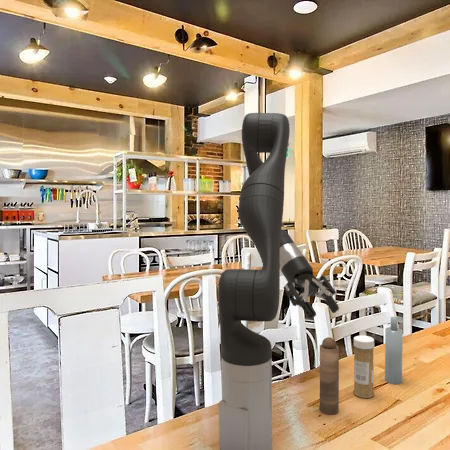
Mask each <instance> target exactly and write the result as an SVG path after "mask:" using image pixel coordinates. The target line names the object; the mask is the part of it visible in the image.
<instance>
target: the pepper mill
mask: <svg viewBox="0 0 450 450" xmlns="http://www.w3.org/2000/svg"><path fill="white" fill-rule="evenodd" d="M339 355H340V347H339V345H337V342H336V340H335V339H334V338H333V337H326V338H324V339H323V340H322V342H321V344H320V345H319V411H320V412H321V413H323V414H325V415H328V416H332V415H333V416H334V415H336V414H338V413H339V411H340V410H339V409H340V408H339V407H340V405H339V404H340V403H339V402H340V399H339V398H340V397H339V395H340V392H339V390H340V386H339V385H340V382H339V381H340V380H339V378H340V376H339V375H340V360H339V359H340V356H339Z"/></svg>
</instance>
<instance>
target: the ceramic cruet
mask: <svg viewBox="0 0 450 450" xmlns="http://www.w3.org/2000/svg"><path fill="white" fill-rule="evenodd" d="M398 322H399V321H398V317H396V316H391V317H390V326H388V327H385V329H384V330H385V331H384V332H385V334H384V339H385V340H384V342H385V344H384V381H385V382H386V383H388V384H390V385H401V384H402V383H403V344H404V343H403V342H404V340H403V338H404V337H403V336H404V335H403V334H404V333H403V332H404V330H403V329H402V328H399V327H398Z"/></svg>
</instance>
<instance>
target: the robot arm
mask: <svg viewBox="0 0 450 450" xmlns="http://www.w3.org/2000/svg"><path fill="white" fill-rule="evenodd" d="M290 134H291V133H290V121H289V119H288V116H287V115H285V114H283V113H280V112H249V113H247V114H246V115H245V116H244V117H243V120H242V125H241V142H242V149H243V154H244V159H245V165H246V167H247V172H248V177H247V178H246V180H245V181H244V183H243V184H242V186H241V188H240V194H239V201H238V202H239V203H238V210H237V215H238V219H239V223H240V224H241V226H242V227H243V229H244V231H245V233H246V234H247V235H248V237H249V239H250V240H251V241H252V243H253V245H254V246H255V248H256V250H257V253H258V254H259V257H260V260H261V263H262V268H261V269H247V268H245V269H243V268H242V269H241V268H232V269H231V268H230V269H225V270H223V272H222V273H221V275H220V277H219V278H218V279H219V281H218V284H217V285H218V287H217V302H218V304H217V305H218V315H219V329H220V332H219V334H220V337H219V338H220V351H221V352H220V353H221V354H220V355H221V358H220V359H221V400H220V401H219V402H218V434H219V435H218V436H219V437H218V438H219V439H218V440H219V441H218V443H219V444H218V445H219V450H273V385H272V383H273V381H272V380H273V375H272V373H273V368H272V366H273V365H272V363H273V361H272V358H273V357H272V353H273V352H272V348H273V347H272V343H271V341H270V340H269V339H268V338H267V337H266V336H264V335H262V334H259V333H258V332H256V331H253V330H251V329H249V328H248V327H247V326H245V324H243V322H245V321H246V322H264V323H265V322H267V323H268V322H272V321H274V320H275V319H276V317H277V314H278V312H279V305H280V290H281V289H280V287H281V283H280V281H281V279H280V277H281V275H280V273H282V275H283V277H284V278H285V279H286V281H287V283H286V284H284V286H283V289H284V291H285V293H286V295H287V297H288V299H289V301H290V303H291V305H292V306H294V307H296V306H299V307H300V308H302V310H303V312H304V314H305V315H306V316H307V317H308V318H309V320H312V319H314V318H315V317H317V312H316V311H315V309H314V308H313V306H312V305H311V303H310V301H308V299H309V297H311V296H312V297H313V296H315V297H317V298H320V299H322V300H323V301H324V302H325V304H326V305H327V307H328V308H329V310H330V311H331V313H333V314H335V313H337V312H338V311H339V310H340V307H339V305H338V303H337V302H336V300H335V299H334V297H333V296H334V295H335V294H336V292H337V291H336V290H335V288H334V287H333V286H332V284H331V283H330V281H328V278H326V277H325V275H324V274H323V275H321V276H320V277H316V276H315V275H314V269H313V267H312V265H311V264H310V263H309V261H308V260H307V258H306V256H305V254H304V253H303V252H302V250H301V249H300V248H299V247H298V246H297V245H296V243H295V242H294V240H293V239H292V237H291V236H290V234H289V232H287V230H285V229H282V225H283V218H284V217H283V215H284V207H285V205H284V204H285V175H286V174H285V172H286V162H287V155H288V148H289V140H290ZM260 153H261V154H262V153H263V154H264V153H265V154H266V153H267V154H268V153H269V155H268V157H267V158H266V159H265V160H264V162H263V160H262V159H261V157H260V156H259V154H260Z"/></svg>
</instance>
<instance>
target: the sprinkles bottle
mask: <svg viewBox="0 0 450 450" xmlns="http://www.w3.org/2000/svg"><path fill="white" fill-rule="evenodd" d="M353 348H354V349H353V350H354V351H353V352H354V353H353V354H354V355H353V357H354V358H353V381H354V382H353V386H354V387H353V388H354V389H353V394H354V395H355V396H356V397H359V398H360V399H361V398H362V399H370V398H373V397H374V394H375V391H374V381H375V379H374V378H375V377H374V376H375V375H374V374H375V372H374V370H375V369H374V348H375V339H374V338H373V337H372V336H369V335H356V336H354V337H353Z"/></svg>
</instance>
